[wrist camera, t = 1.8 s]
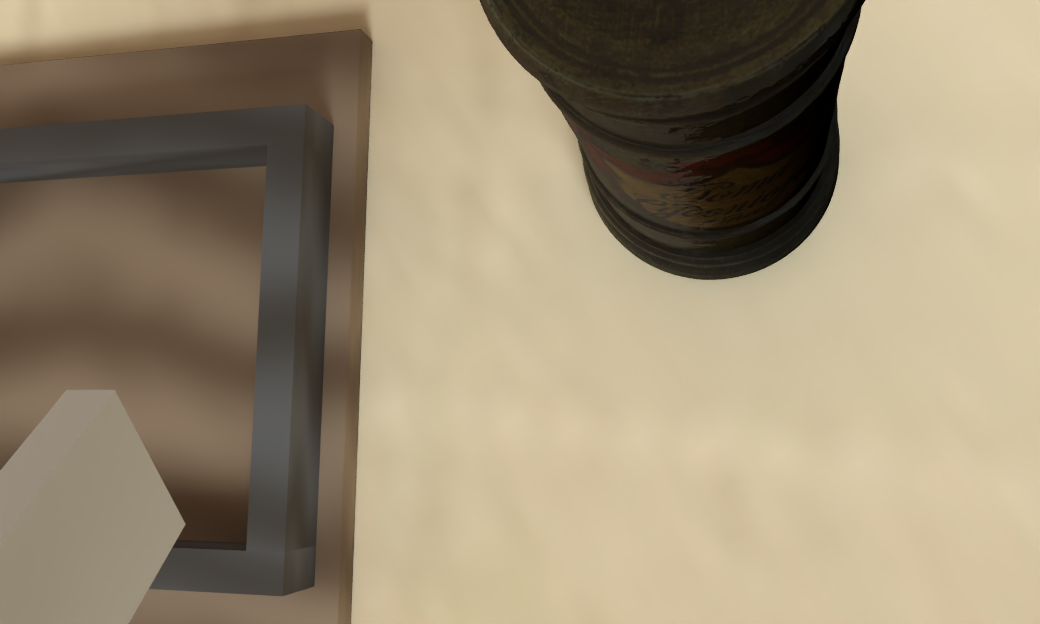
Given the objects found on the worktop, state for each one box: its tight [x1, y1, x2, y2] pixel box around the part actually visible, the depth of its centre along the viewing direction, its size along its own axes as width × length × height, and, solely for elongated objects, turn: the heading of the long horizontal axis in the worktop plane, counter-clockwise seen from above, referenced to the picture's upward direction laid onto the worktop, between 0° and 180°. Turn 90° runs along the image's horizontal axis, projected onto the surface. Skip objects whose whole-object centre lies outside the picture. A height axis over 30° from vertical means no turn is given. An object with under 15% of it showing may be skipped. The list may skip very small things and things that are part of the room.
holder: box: [0, 29, 372, 624], centre depth 38 cm, size 26×20×4 cm
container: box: [480, 0, 865, 280], centre depth 27 cm, size 9×9×18 cm
